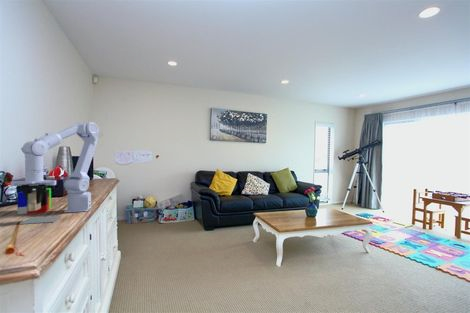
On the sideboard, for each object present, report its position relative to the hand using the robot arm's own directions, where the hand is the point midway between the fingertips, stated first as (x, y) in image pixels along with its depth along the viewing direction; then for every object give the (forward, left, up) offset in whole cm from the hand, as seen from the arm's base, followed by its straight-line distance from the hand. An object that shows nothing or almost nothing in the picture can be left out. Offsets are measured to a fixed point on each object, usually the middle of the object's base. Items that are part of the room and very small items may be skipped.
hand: (34, 203), depth 95 cm
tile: (0, 0, -3) cm, 3 cm away
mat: (-3, 0, -7) cm, 8 cm away
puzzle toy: (+7, -19, -8) cm, 21 cm away
